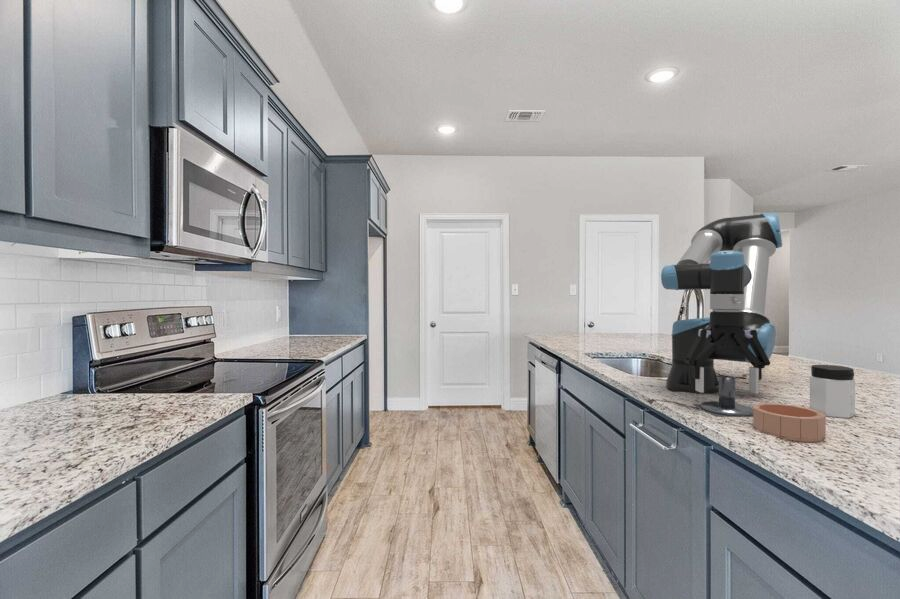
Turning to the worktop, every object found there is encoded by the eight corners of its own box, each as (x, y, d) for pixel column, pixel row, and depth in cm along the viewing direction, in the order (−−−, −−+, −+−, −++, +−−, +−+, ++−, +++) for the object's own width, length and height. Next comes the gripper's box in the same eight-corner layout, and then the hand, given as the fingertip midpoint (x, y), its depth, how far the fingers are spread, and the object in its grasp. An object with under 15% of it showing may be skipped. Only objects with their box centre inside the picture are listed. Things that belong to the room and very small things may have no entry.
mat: (691, 406, 117) (691, 403, 117) (736, 406, 116) (736, 404, 116) (715, 418, 105) (715, 416, 105) (766, 419, 104) (766, 417, 104)
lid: (692, 404, 116) (692, 372, 116) (736, 404, 116) (736, 372, 115) (716, 416, 105) (716, 381, 105) (764, 416, 104) (765, 381, 104)
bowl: (741, 423, 101) (741, 402, 100) (795, 424, 100) (795, 403, 100) (777, 441, 88) (777, 418, 88) (840, 442, 87) (840, 419, 87)
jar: (847, 420, 102) (848, 371, 102) (805, 412, 109) (805, 366, 109) (858, 414, 107) (858, 367, 107) (817, 407, 114) (818, 363, 114)
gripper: (684, 311, 107) (684, 394, 107) (787, 311, 105) (787, 396, 105) (670, 310, 114) (670, 388, 114) (766, 310, 113) (766, 389, 113)
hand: (726, 392), depth 110 cm, fingers open, 13 cm apart
